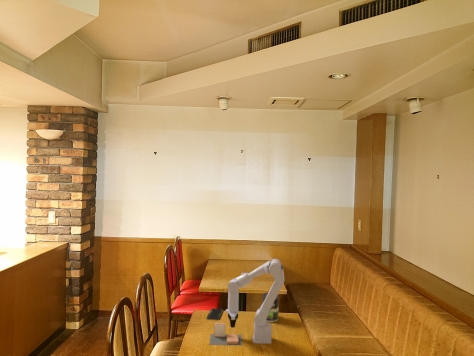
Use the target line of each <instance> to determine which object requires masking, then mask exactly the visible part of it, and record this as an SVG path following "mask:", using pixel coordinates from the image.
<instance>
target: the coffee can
mask: <svg viewBox="0 0 474 356" xmlns="http://www.w3.org/2000/svg"><path fill="white" fill-rule="evenodd" d="M268 293H269V292H265V293H263V294H262V301H261V302H262V304H263V302H264V300H265V299H266V297H267V295H268ZM262 304H261V305H262ZM279 307H280V295H279V294H278V295H277V297H276V299H275V301H274V303H273V305H272V307H271V309H270V311H269V313H268V316H267V319H266V320H267V322H268V323H275V322H277V321H278V320H279V312H280V310H279V309H280V308H279Z"/></svg>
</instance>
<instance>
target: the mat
mask: <svg viewBox="0 0 474 356" xmlns="http://www.w3.org/2000/svg"><path fill="white" fill-rule="evenodd" d="M227 334H228V333H225V337H214V333H210V335H209V344H208V345H209V346H243V335H242V334H237V335H238V344H227ZM229 334H230V333H229ZM230 335H234V333H233V334H230Z"/></svg>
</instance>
